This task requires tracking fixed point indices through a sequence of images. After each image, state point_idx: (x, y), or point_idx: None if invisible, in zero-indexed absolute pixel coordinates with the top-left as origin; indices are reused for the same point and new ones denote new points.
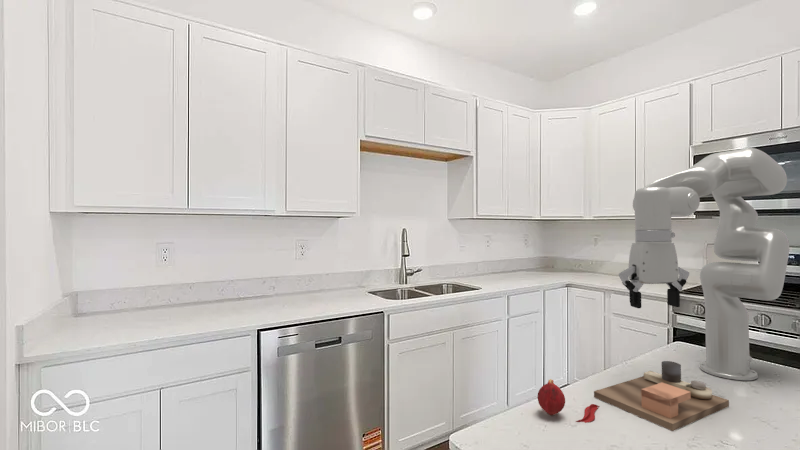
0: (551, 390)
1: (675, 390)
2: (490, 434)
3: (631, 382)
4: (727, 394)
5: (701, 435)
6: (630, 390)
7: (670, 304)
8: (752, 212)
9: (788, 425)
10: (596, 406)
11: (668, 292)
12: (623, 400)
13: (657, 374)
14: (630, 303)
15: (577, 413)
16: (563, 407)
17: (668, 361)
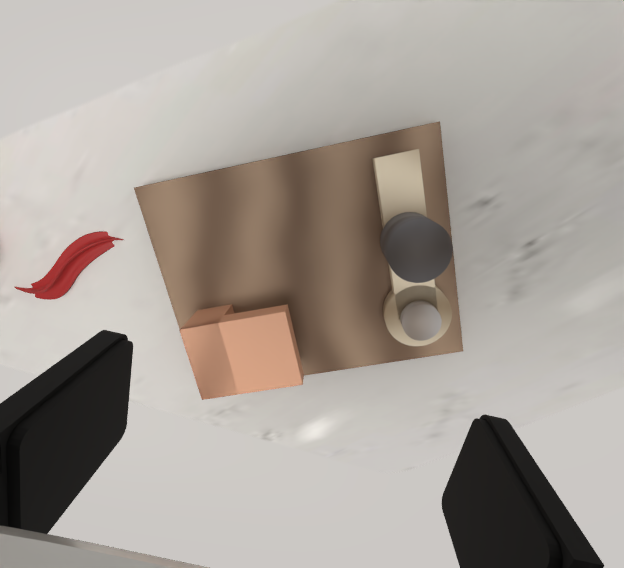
0: None
1: (269, 366)
2: None
3: (307, 166)
4: (546, 291)
5: (249, 409)
6: (251, 218)
7: (466, 448)
8: None
9: None
10: (111, 239)
11: (527, 533)
12: (178, 266)
13: (407, 188)
14: (94, 338)
15: (41, 254)
16: None
17: (437, 228)
